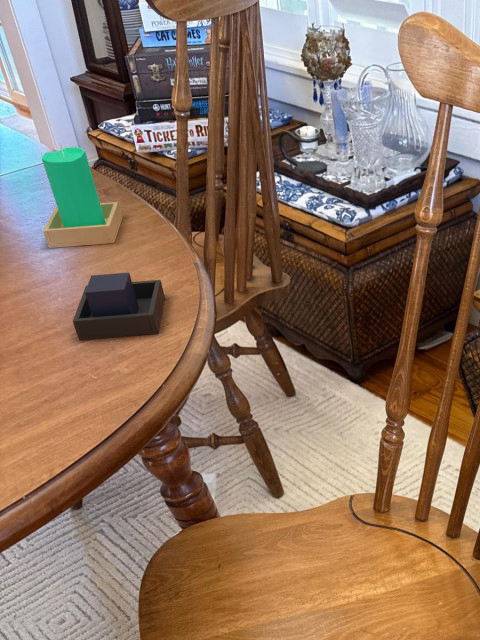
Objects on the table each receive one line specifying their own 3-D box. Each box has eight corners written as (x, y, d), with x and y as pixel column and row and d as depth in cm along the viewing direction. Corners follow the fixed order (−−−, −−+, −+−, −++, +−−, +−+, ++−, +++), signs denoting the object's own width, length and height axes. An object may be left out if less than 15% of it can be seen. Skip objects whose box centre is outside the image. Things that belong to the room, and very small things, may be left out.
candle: (109, 219, 117) (84, 133, 109) (105, 235, 113) (79, 147, 105) (68, 223, 117) (40, 137, 109) (62, 239, 112) (33, 151, 104)
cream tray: (48, 248, 112) (42, 230, 110) (61, 223, 118) (55, 206, 117) (114, 243, 112) (109, 225, 111) (122, 218, 119) (118, 201, 117)
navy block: (96, 327, 93) (84, 292, 90) (102, 309, 96) (91, 275, 93) (134, 324, 94) (124, 289, 90) (138, 306, 97) (129, 272, 94)
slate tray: (79, 340, 92) (72, 321, 90) (91, 304, 99) (85, 285, 97) (158, 333, 93) (152, 314, 91) (165, 298, 99) (160, 279, 98)
